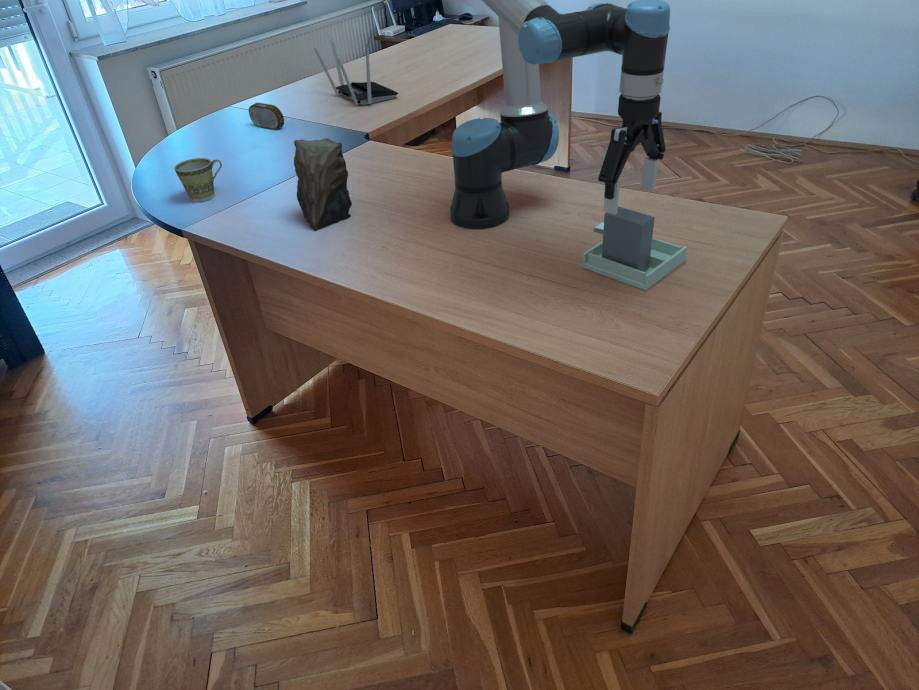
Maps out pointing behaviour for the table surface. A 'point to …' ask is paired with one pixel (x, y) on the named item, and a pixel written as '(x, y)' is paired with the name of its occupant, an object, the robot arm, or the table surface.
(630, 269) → the green divided tray
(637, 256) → the blue-grey rectangular block
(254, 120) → the tin
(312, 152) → the rock
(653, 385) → the table surface
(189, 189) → the ceramic cup
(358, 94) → the wireless router
